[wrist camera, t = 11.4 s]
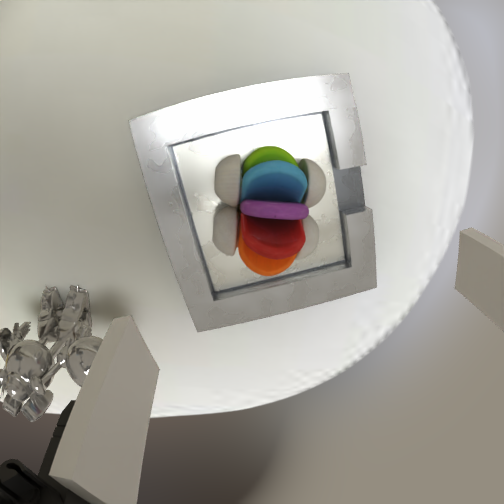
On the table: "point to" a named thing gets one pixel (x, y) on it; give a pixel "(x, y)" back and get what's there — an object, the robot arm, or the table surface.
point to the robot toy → (47, 352)
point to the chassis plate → (208, 204)
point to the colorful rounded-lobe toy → (267, 208)
